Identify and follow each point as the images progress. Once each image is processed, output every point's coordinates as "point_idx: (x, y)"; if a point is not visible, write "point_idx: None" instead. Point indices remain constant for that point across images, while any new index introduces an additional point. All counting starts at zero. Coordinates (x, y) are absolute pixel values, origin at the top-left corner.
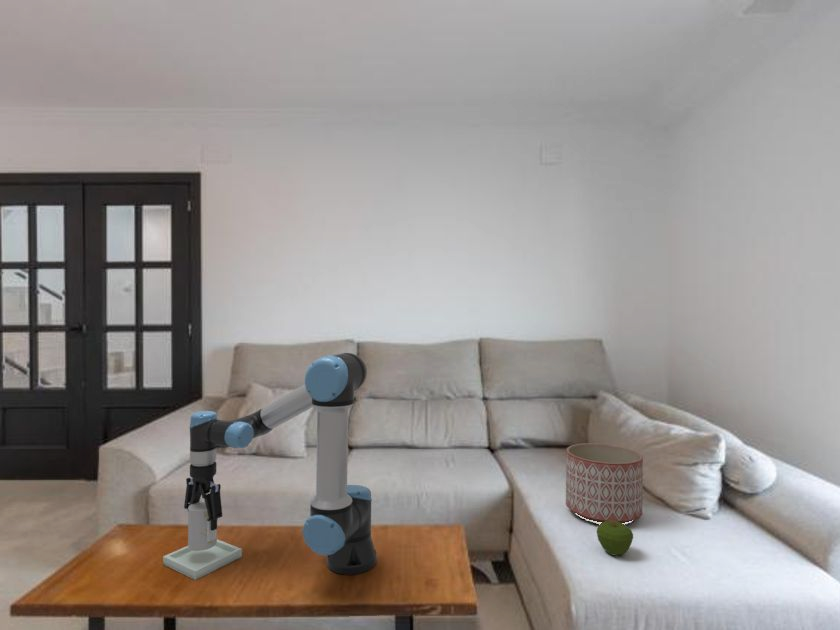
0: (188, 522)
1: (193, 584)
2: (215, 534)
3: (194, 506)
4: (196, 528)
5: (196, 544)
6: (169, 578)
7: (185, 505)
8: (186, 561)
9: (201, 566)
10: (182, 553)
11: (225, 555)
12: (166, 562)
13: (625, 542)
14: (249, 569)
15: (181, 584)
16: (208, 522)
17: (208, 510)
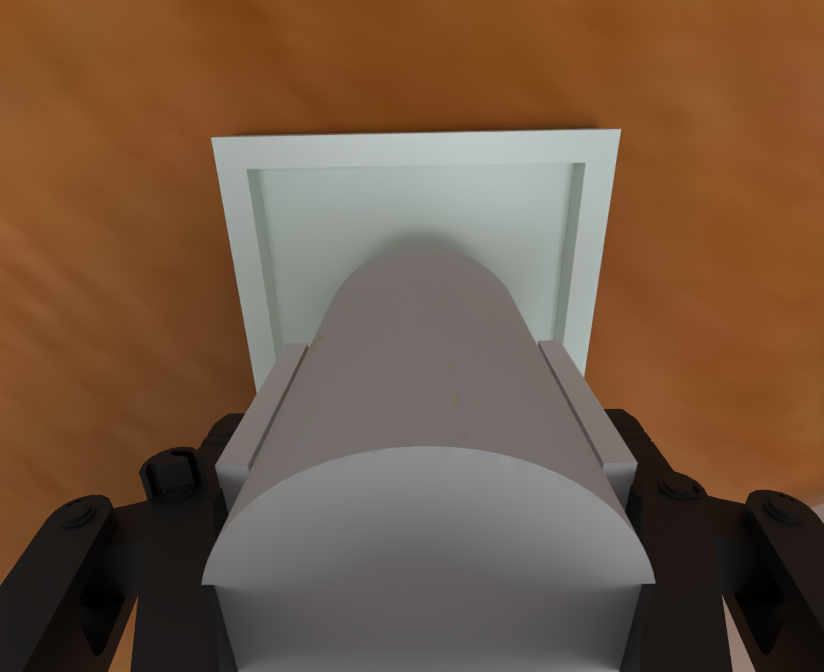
0: (488, 341)
1: (191, 95)
2: None
3: (517, 557)
4: (342, 335)
5: (359, 277)
6: (391, 41)
7: (796, 530)
8: (460, 221)
9: (248, 205)
10: (565, 261)
11: (266, 373)
12: (565, 129)
13: None
14: (125, 380)
15: (250, 44)
16: (229, 447)
17: (173, 579)
